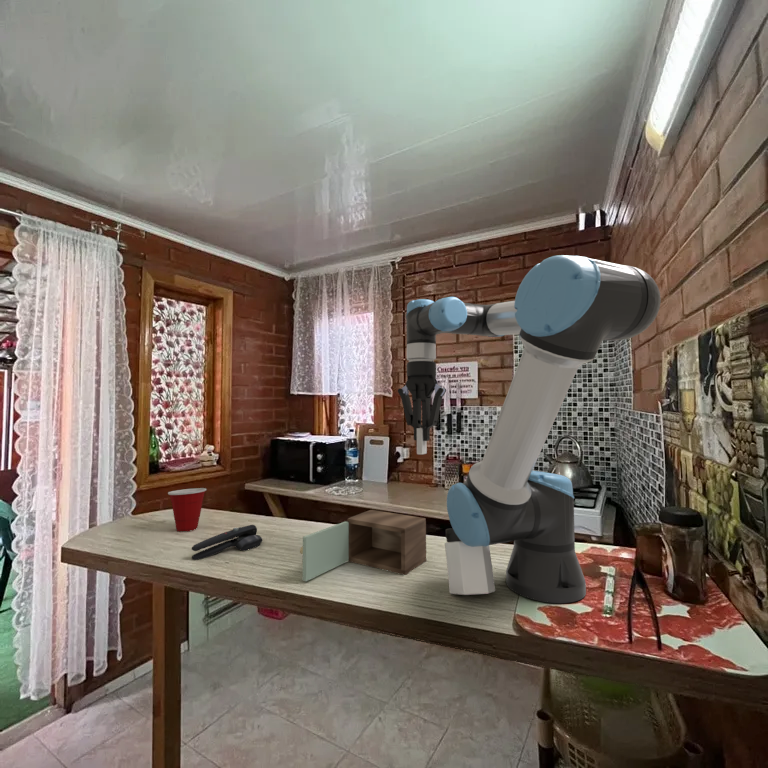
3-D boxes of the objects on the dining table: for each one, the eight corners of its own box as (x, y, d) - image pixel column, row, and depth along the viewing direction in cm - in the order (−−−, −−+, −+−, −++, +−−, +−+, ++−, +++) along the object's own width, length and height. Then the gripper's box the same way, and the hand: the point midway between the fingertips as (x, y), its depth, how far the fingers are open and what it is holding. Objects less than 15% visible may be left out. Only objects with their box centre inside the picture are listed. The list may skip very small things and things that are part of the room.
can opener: (252, 541, 116) (252, 520, 116) (264, 546, 111) (265, 525, 111) (185, 557, 103) (186, 534, 104) (196, 564, 98) (196, 540, 99)
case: (426, 560, 99) (425, 518, 100) (405, 575, 91) (404, 528, 91) (371, 548, 108) (370, 509, 109) (347, 560, 100) (347, 518, 100)
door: (340, 558, 100) (340, 520, 100) (348, 560, 98) (348, 522, 99) (297, 578, 88) (297, 535, 89) (306, 581, 87) (306, 537, 87)
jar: (461, 590, 87) (454, 529, 91) (499, 590, 83) (490, 527, 88) (444, 595, 80) (437, 529, 84) (485, 595, 76) (476, 525, 80)
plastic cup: (200, 522, 134) (200, 484, 135) (210, 529, 126) (211, 489, 127) (163, 528, 128) (163, 489, 128) (171, 536, 119) (172, 494, 120)
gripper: (450, 361, 107) (451, 453, 106) (405, 363, 113) (406, 450, 112) (438, 358, 100) (439, 457, 99) (392, 361, 107) (392, 453, 106)
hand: (421, 453), depth 106 cm, fingers closed
